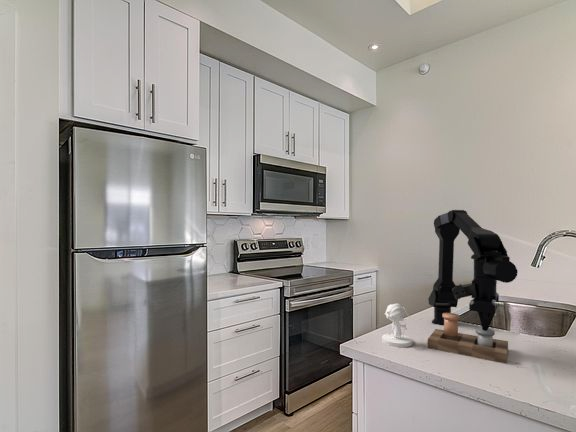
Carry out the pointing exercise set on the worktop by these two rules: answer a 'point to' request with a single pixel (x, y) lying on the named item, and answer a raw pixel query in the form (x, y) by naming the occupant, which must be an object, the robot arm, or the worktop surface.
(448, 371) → the worktop surface
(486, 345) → the plug grey
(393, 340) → the figurine
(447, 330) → the plug terracotta
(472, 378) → the worktop surface
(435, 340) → the socket board
